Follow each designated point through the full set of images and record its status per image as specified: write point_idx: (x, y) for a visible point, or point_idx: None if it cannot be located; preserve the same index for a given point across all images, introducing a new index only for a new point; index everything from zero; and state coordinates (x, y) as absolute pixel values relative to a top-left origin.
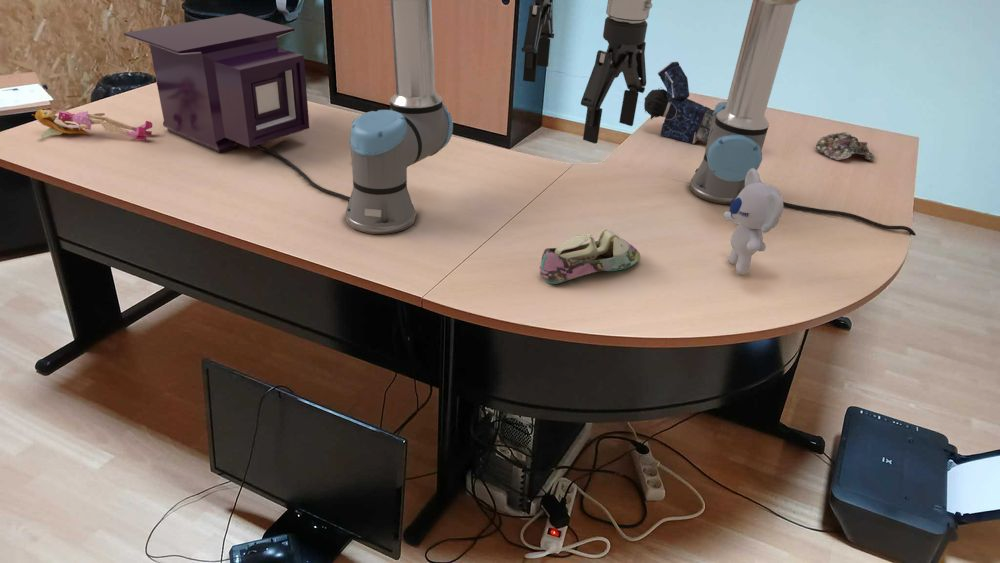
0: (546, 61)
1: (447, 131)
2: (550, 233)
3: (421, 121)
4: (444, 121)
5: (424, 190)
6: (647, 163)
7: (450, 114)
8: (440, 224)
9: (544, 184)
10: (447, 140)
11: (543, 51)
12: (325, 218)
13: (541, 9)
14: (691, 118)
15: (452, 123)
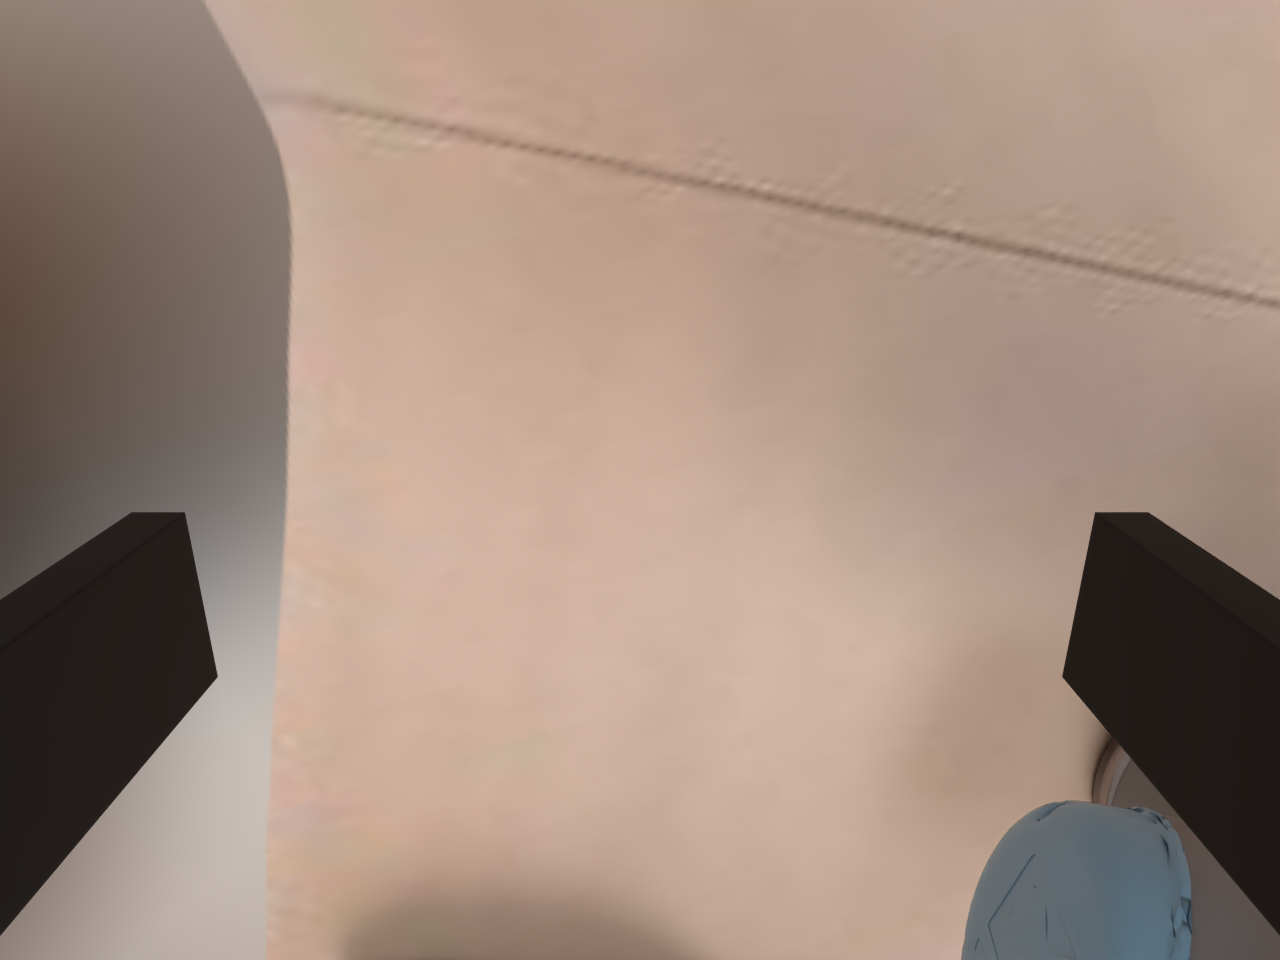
0: (141, 574)
1: (1188, 866)
2: (1256, 24)
3: None
4: (1230, 943)
5: (916, 718)
6: None
7: (1137, 953)
8: (1239, 559)
9: (638, 204)
10: (1131, 818)
11: (41, 749)
12: None
13: None
14: None
15: (1136, 886)
